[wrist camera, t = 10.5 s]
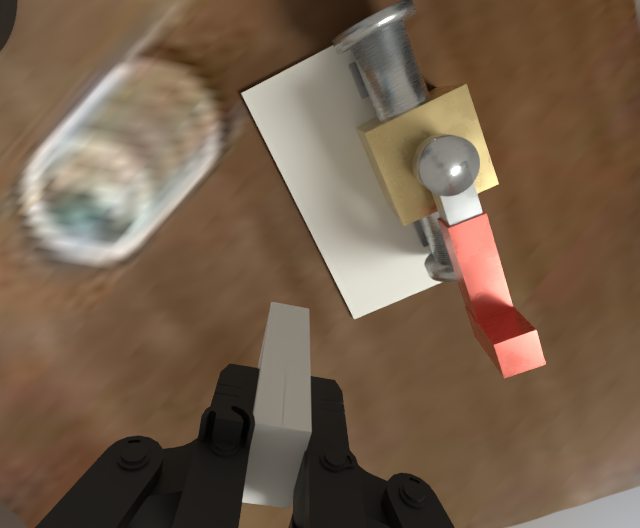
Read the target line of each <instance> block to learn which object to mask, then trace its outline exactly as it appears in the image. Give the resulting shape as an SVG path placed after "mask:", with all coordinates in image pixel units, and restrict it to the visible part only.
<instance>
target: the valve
mask: <svg viewBox="0 0 640 528" xmlns="http://www.w3.org/2000/svg"><path fill="white" fill-rule="evenodd" d="M416 12H417V11H416V9H415V6H414V3H413V0H402V1H399V2H397V3H395V4H393V5H391V6H388V7H386V8H384V9H382V10H381V11H379V12H377V13H375V14H373V15H371V16H369V17H367V18H366V19H364V20H362V21H360V22H359V23H357V24H355V25H354V26H352V27H350V28H349V29H347V30H345V31H344V32H342V33H341V34H340V35H338V36H337V37H335V38H334V39H333V40H332V43H333V45H334V48H335V50H336V53H337V54H341V53H344V52H346V51H348V50H351V52H352V54H353V57H354V59H355V62H353V63H351V64H349V65H348V67H349V69H350V71H351V74H352V76H353V79H354V81H355V84H356V86H357V89H358V91H359V94H360V96H361V98H362V99H364V98H366V97H368V96H369V97H370V99H371V102H372V104H373V107H374V109H375V112H376V114H377V116H378V117H376V118H374V119H372V120H370V121H368V122H366V123H364V124H362V125H360V126H358V127H355V128H356V130H357V133H358V135H359V138H360V140H361V142H362V145H363V147H364V149H365V152H366V154H367V156H368V159H369V161H370V164H371V166H372V168H373V171H374V173H375V175H376V178H377V180H378V182H379V185H380V187H381V190H382V192H383V194H384V197H385V199H386V201H387V204H388V206H389V207H390V208H391V210H392V211H393V213H394V214H395V215H396V217H397V218H398V219H399V221H400V222H401V223H402V225H403V226H406V225H408V224H410V223H413V226H414V228H415V231H416V233H417V235H418V238H419V240H420V243H421V244H422V246H423V247H426V246H428V245H429V246H430V248H431V251H432V252H431V253H430V254H429V255H428V257H427V258H426V259H425V263H424V265H425V268H426V270H427V273H428V275H429V277H430V278H431V279H433V280H435V281H440V282H452V281H457V278H456V275H455V271H454V268H453V265H452V262H451V259H450V256H449V253H448V250H447V247H446V244H445V241H444V238H443V235H442V232H441V229H440V226H439V223H438V220H437V218H439V217H440V216H439V213H438V210H437V207H436V204H435V201H434V197H433V194H432V192H431V191H430V190H428V189H427V188H426V187H424V186H423V185H422V184H421V183H420V182H419V181H418V180H417V179H416V177H415V175H414V172H413V167H412V162H413V157H414V154H415V151H416V149H417V148H418V146H419V145H420V144H421V143H422V142H423V141H424V140H425V139H427V138H428V137H430V136H433V135H435V134H450V135H454V136H458V137H462V138H465V139H467V140H468V141H470V142H471V143H472V144H473V145H474V146H475V148H476V149H477V151H478V154H479V158H480V168H479V173H478V175H477V178H476V179H475V181H474V185H475V188H476V192H477V193H479V192H482V191H484V190H486V189H488V188H491V187H493V186H495V185H497V184H499V183H498V180H497V177H496V174H495V171H494V168H493V165H492V161H491V158H490V155H489V152H488V149H487V146H486V143H485V140H484V137H483V134H482V130H481V127H480V124H479V121H478V118H477V115H476V112H475V109H474V106H473V103H472V99H471V96H470V93H469V90H468V87H467V84H460V85H452V86H443V87H436V88H434V89H432V90H430V91H428V89H427V87H426V84H425V81H424V78H423V75H422V73H421V70H420V67H419V64H418V61H417V58H416V56H415V53H414V50H413V47H412V44H411V41H410V39H409V36H408V33H407V30H406V27H405V25H404V22H403V21H405V20H407V19H408V18H410V17H411V16H413V15H414V14H415V13H416ZM494 242H495V240H494ZM495 245H496V242H495ZM496 249H497V252H498V256H499V251H498V248H497V245H496Z"/></svg>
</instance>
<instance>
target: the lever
mask: <svg viewBox="0 0 640 528" xmlns="http://www.w3.org/2000/svg"><path fill="white" fill-rule="evenodd" d="M412 167H413V172H414V175H415V177H416V179H417V180H418V181H419V182H420V183H421V184H422V185H423V186H424V187H426V188H427V189H428V190H430V191H431V192H432V194H433V197H434V201H435V204H436V207H437V210H438V213H439V216H440V217H439V218H437V220H438V223H439V226H440V229H441V232H442V235H443V238H444V241H445V244H446V247H447V250H448V253H449V256H450V259H451V262H452V265H453V268H454V271H455V275H456V278H457V281H458V284H459V287H460V290H461V293H462V296H463V299H464V302H465V305H466V306H465V308H466V311H467V314H468V317H469V320H470V323H471V326H472V329H473V332H474V335H475V337H476V338H477V340H478V341H479V343H480V344H481V346H482V347H483V348H484V350H485V351H486V353H487V354H488V356H489V357H490V359H491V360H492V361H493V363H494V364H495V366H496V367H497V369H498V370H499V371H500V373H501V374H502V376H503V377H504V378H507V377H510V376H513V375H515V374H518V373H521V372H524V371H527V370H530V369H533V368H536V367H539V366H542V365H545V360H544V356H543V353H542V349H541V345H540V342H539V338H538V334H537V330H536V329H535V328H534V327H533V326H532V325H531V324H530V323H529V322H528V321H527V320H526V319H525V318H524V317H523V316H522V315H521V314H520V313H519V312H518V311H517V310H516V309H515V308H514V307H513V305H512V301H511V298H510V294H509V291H508V287H507V284H506V280H505V277H504V273H503V270H502V266H501V263H500V259H499V256H498V252H497V249H496V245H495V242H494V238H493V235H492V231H491V228H490V224H489V220H488V217H487V213H485V212H484V211H482V209H481V206H480V202H479V199H478V195H477V192H476V188H475V185H474V181H475V179H476V178H477V175H478V173H479V168H480V158H479V154H478V151H477V149H476V148H475V146H474V145H473V144H472V143H471V142H470V141H468V140H467V139H465V138H462V137H458V136H454V135H450V134H435V135H433V136H430V137H428V138H427V139H425V140H424V141H423V142H422V143H421V144H420V145H419V146H418V148H417V149H416V151H415V154H414V157H413V162H412Z"/></svg>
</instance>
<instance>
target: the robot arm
mask: <svg viewBox="0 0 640 528" xmlns="http://www.w3.org/2000/svg"><path fill="white" fill-rule="evenodd" d="M16 9H17V0H0V51H1V50H2V48H3V47H4V45H5V44H6V42H7V40H8V38H9V36H10V34H11V31H12V28H13V25H14V21H15V16H16ZM344 413H345V410H344V405H343V395H342V390H341V389H340V387H339V386H338V384H337V383H336V381H335V380H331V379H325V378H319V377H313V376H310V331H309V309H308V308H302V307H297V306H292V305H286V304H281V303H276V302H271V306H270V311H269V315H268V320H267V325H266V330H265V335H264V340H263V344H262V349H261V354H260V359H259V364H258V368H253V367H247V366H241V365H235V364H229V365H228V366H227V367H226V368H225V369H223V370H222V371H221V373H220V376H219V379H218V383H217V386H216V389H215V393H214V396H213V399H212V403H211V406H210V407H208V408H207V409H206V410H205V411H204V413H203V415H202V417H201V423H200V430H199V436H198V438H197V439H195V440H194V441H192V442H191V443H189V444H186V445H184V446H180V447H175V448H167V449H162V447H161V446H160V445H159V443H158V442H157V441H155V440H153V439H151V438H149V437H144V436H132V437H126V438H124V439H121V440H118V441H116V442H115V443H114V444H112V445H111V446H110V447H109V448H108V449H107V450H106V451H105V452H104V453H103V454H102V455H101V456H100V457H99V458H98V459H97V461H96V462H95V463H94V464H93V465H92V466H91V467H90V468H89V469H88V470H87V471H86V473H85V474H84V475H83V476H82V477H81V478H80V479H79V480H78V481H77V482H76V484H75V485H74V486H73V487H72V488H71V489H70V490H69V491H68V492H67V493H66V494H65V496H64V497H63V498H62V499H61V500H60V501H59V502H58V503H57V504H56V505H55V506H54V508H53V509H52V510H51V511H50V512H49V513H48V514H47V515H46V516H45V517H44V518H43V520H42V521H41V522H40V523H39V524H38V525H37V526H36V527H35V528H238V526H239V519H240V512H241V506H242V502H245V503H252V504H260V505H268V506H275V507H283V508H290V507H291V504H292V500H293V514H292V518H291V521H290V525H289V528H454V526H453V524H452V522H451V521H450V519H449V517H448V515H447V513H446V512H445V510H444V508H443V506H442V505H441V503H440V501H439V499H438V498H437V496H436V494H435V492H434V491H433V490H432V489H431V487H430V486H429V485H428V484H427V483H426V482H424V481H423V480H422V479H421V478H419V477H416V476H414V475H412V474H407V473H399V474H395V475H393V476H392V477H391V478H390V479H389V480H388V481H386V480H384V479H381V478H379V477H377V476H374V475H372V474H370V473H368V472H367V471H365V470H364V469H362V468H361V467H360V466H359V465H358V463H357V460H356V457H355V456H354V455H353V454H352V452H351V451H350V449H349V442H348V434H347V426H346V418H345V414H344Z"/></svg>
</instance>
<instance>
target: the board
mask: <svg viewBox="0 0 640 528" xmlns="http://www.w3.org/2000/svg"><path fill="white" fill-rule="evenodd" d="M353 62H355V59H354V57H353V54H352V52H351V50H348V51H346V52H344V53H341V54H337V53H336V50H335V48H334V45H332V46H331V47H329V48H327V49H325V50H323V51H321V52H319V53H317V54H315V55H313V56H311V57H310V58H308V59H306V60H304V61H302V62H300V63H298V64H296V65H294V66H292V67H290V68H288V69H287V70H285V71H283V72H281V73H279V74H277V75H275V76H273V77H271V78H269V79H267V80H266V81H264V82H262V83H260V84H258V85H256V86H254V87H252V88H250V89H248V90H246V91H245V92H243V93H241V94H242V96H243V98H244V100H245V102H246V104H247V106H248V108H249V110H250V112H251V114H252V116H253V118H254V120H255V122H256V124H257V126H258V128H259V130H260V132H261V134H262V136H263V138H264V140H265V142H266V144H267V146H268V148H269V150H270V152H271V154H272V156H273V158H274V160H275V162H276V164H277V166H278V168H279V170H280V172H281V174H282V176H283V178H284V180H285V182H286V184H287V186H288V188H289V190H290V192H291V194H292V196H293V198H294V200H295V202H296V204H297V206H298V208H299V210H300V212H301V214H302V216H303V218H304V220H305V222H306V224H307V226H308V228H309V230H310V232H311V234H312V236H313V238H314V240H315V242H316V244H317V246H318V248H319V250H320V252H321V254H322V256H323V258H324V260H325V262H326V264H327V266H328V268H329V270H330V272H331V274H332V276H333V278H334V280H335V282H336V284H337V286H338V288H339V290H340V292H341V294H342V296H343V298H344V300H345V302H346V304H347V306H348V308H349V310H350V312H351V314H352V316H353V318H354V319H356V318H359V317H361V316H363V315H366V314H368V313H370V312H373V311H375V310H377V309H380V308H382V307H385V306H387V305H389V304H392V303H394V302H396V301H399V300H401V299H403V298H406V297H408V296H410V295H413V294H415V293H418V292H420V291H422V290H425V289H427V288H429V287H432V286H434V285H436V284H439V283H441V282H440V281H435V280H433V279H431V278H430V277H429V275H428V273H427V270H426V268H425V265H424V263H425V259H426V258H427V257H428V255H429V254H430V253H431V252H432V251H431V248H430V246H429V245H428V246H426V247H423V246H422V244H421V243H420V240H419V238H418V235H417V233H416V231H415V228H414V226H413V223H410V224H408V225H406V226H403V225H402V223H401V222H400V221H399V219H398V218H397V217H396V215H395V214H394V213H393V211H392V210H391V208H390V207H389V206H388V204H387V201H386V199H385V197H384V194H383V192H382V190H381V187H380V185H379V182H378V180H377V178H376V175H375V173H374V171H373V168H372V166H371V164H370V161H369V159H368V156H367V154H366V152H365V149H364V147H363V145H362V142H361V140H360V138H359V135H358V133H357V130H356V128H355V127H358V126H360V125H362V124H364V123H366V122H368V121H370V120H372V119H374V118H376V117H378V116H377V114H376V112H375V109H374V107H373V104H372V102H371V99H370V97H369V96H368V97H366V98H364V99H362V98H361V96H360V94H359V91H358V89H357V86H356V84H355V81H354V79H353V76H352V74H351V71H350V69H349V67H348V65H349V64H351V63H353Z"/></svg>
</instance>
